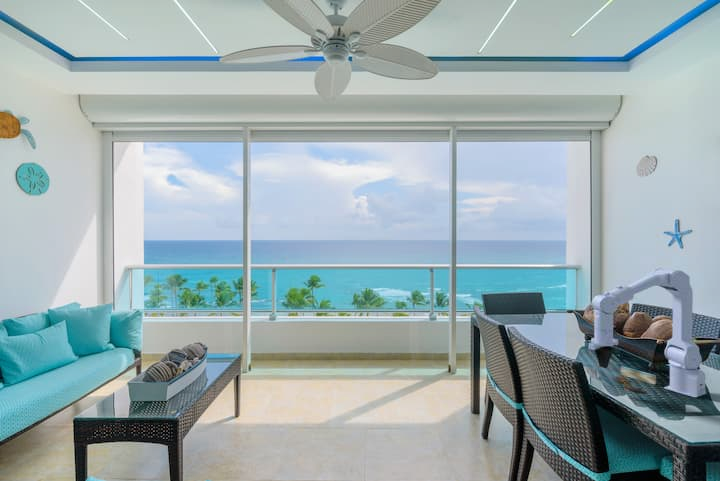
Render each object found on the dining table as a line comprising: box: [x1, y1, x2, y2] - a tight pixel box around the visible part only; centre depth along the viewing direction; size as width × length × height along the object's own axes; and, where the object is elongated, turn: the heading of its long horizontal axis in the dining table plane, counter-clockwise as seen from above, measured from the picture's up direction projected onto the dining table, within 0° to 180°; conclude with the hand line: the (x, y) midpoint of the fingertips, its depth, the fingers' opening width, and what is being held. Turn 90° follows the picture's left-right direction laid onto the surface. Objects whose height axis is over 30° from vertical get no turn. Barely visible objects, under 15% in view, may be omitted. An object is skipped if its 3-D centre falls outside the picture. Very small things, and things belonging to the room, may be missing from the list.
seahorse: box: [614, 375, 646, 394], centre depth 147 cm, size 6×15×2 cm, turn 172°
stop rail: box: [620, 365, 657, 385], centre depth 153 cm, size 12×1×3 cm, turn 28°
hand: (603, 367), depth 141 cm, fingers closed
